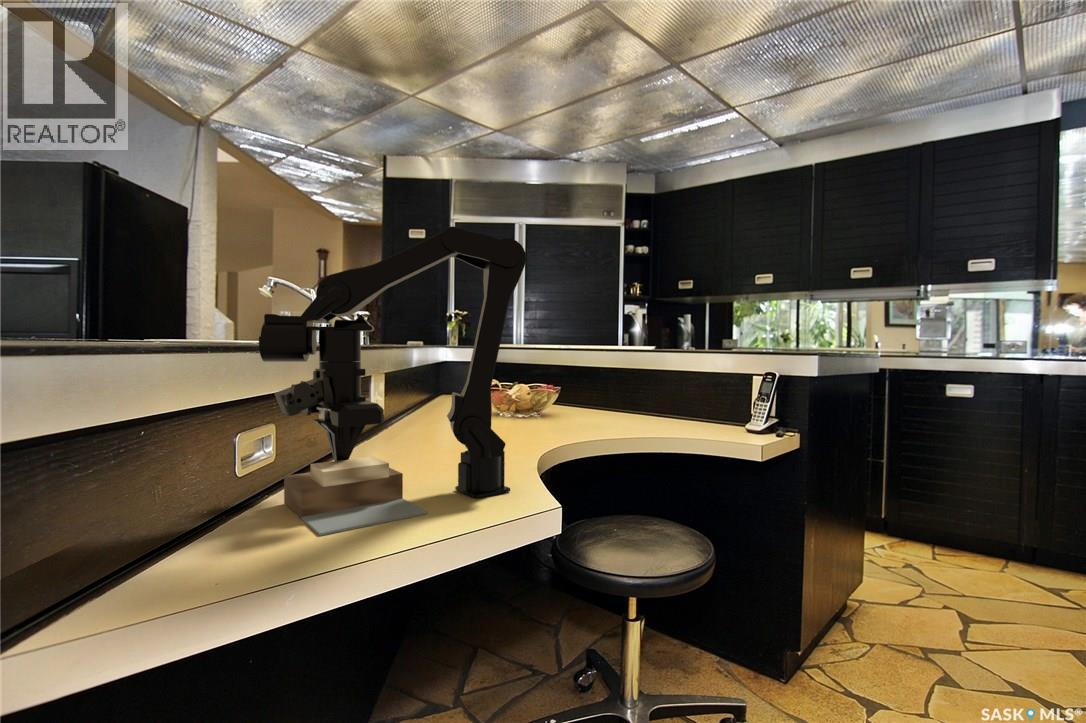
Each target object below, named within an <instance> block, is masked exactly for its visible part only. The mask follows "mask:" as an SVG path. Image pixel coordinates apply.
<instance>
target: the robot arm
mask: <svg viewBox="0 0 1086 723" xmlns="http://www.w3.org/2000/svg"><path fill="white" fill-rule="evenodd" d="M451 258H454V259H457V260H459V261H462V262H463V263H466V264H468V265H470V266H473V267H474V268H476V269H480V270H483V277H482V278H483V279H482V280H483V281H482V282H483V301H482V302H483V303H482V306H481V312H480V316H479V321H478V326H477V331H476V335H475V340H474V344H473V349H472V353H471V354H472V355H471V357H470V358H471V359H470V362H469V363H470V364H469V368H468V372H467V377H466V382H465V384H464V386H463V388H462V391H461V392H460V394H459V393H457V392H454V391H453V392H452V393H451V405H450V406H451V407H450V409H449V411H448V413H447V415H446V417H447V419H448V421H449V424H450V425H449V426H450V429H451V431H452V433H453V435H454V437H455V438H456V440H457V441H458V442H459V443H460V444H462V445H463V446H465V449H467V450H465V451H461V452H460V462H458V463H457V486H455V487H454V488H455V491H458V492H460V493H463V494H465V495H468V496H469V497H472V498H475V499H477V498H484V497H488V496H489V497H490V496H494V495H498V494H503V493H509V492H511V487H508V486H506V485H505V467H506V466H505V463H506V462H505V460H506V459H505V456H506V454H505V453H506V452H505V447H506V442H505V441H504V440H503V439H502V438H501V437H500V436H499V435H498V434H497V433H496V432H495V431H494V430H493V429H492V410H493V408H492V384H493V379H494V374H495V371H496V366H497V365H496V364H497V361H498V355H499V350H500V346H501V341H502V338H503V331H504V327H505V321H506V317H507V312H508V308H509V304H510V303H509V302H510V300H511V298H512V296H513V294H514V291H515V289H516V288H517V285H518V284H519V281H520V279H521V276H522V274H523V271H524V268H525V266H526V263H527V251H526V250H525V248H524V247H523V245H522V244H521V243H520V242H519V241H517V240H515V239H513V238H508V237H507V238H506V237H504V238H501V239H498V238H495V237H493V236H489V235H486V234H482V233H476V232H472V231H468V230H465V229H462V228H460V227H457V226H447V227H446V228H443V230H442V231H440V232H439V233H437V234H435V235H432V236H431V237H428V238H426V239H424V240H422V241H419V242H417V243H416V244H413V245H411V246H409V247H407V248H405V249H403V250H401V251H398V252H396V253H394V254H393V255H389V256H388V257H386V258H383V259H381V260H380V261H377V262H375V263H372V264H369V265H366V266H360V267H356V268H350V269H346V270H342V271H340V272H335V273H332V274H328V275H326V276H324V277H323V278H322V279H321V280H320V281H319V282H318V284H317V287H316V292H315V293H316V297H315V298H314V299H313V300H312V302H310V304H309V305H308V307H307V308H306V309H305V310H304V311H303V312H302V313H301V315H279V314H276V313H275V314H274V313H265V314H264V315H263V316H264V319H263V321H264V322H263V324H262V327H261V331H260V335H259V336H258V348H259V355H260V358H261V360H262V362H265V363H266V362H267V363H268V362H269V363H270V362H271V363H272V362H274V363H275V362H276V363H277V362H279V363H281V362H284V363H286V362H295V363H298V362H299V363H300V362H303V363H304V362H307V361H308V360H309V358H310V356H313V355H314V356H315V355H316V352H317V342H318V343H319V344H318V345H319V346H318V348H319V349H318V352H319V354H318V356H319V357H318V358H319V359H318V360H319V362H318V365H319V368H315V369H314V370H313V372H312V375H313V376H312V378H313V379H309V380H307V381H303V380H301V381H300V382H299V383H296V384H294V383H293V384H291V386H290V387H287V388H285V389H281V390H279V391H277V392H274V396H275V399H276V401H277V403H278V406H279V408H280V409H279V410H281V413H282V415H286V416H287V417H293V416H295V415H298V414H300V413H301V414H302V415H305V416H311V415H312V413H313V414H315V413H316V414H318V418H316V419H315V418H314V419H313V422H314V423H315V424H317V426H319V427H320V428H322V429H323V430H324V431H325V434H326V436H327V439H328V444H329V446H330V450H331V453H332V457H333V461H340V460H349V459H350V457H351V455H352V453H353V451H354V449H355V447H356V444H357V443H358V440H359V438H360V437H361V435H362V433H363V431H364V430H365V428H366V426H368V425H379V424H380V425H381V424H384V423H385V422H384V421H385V419H384V418H385V415H384V412H385V409H384V408H383V407H382V406H380V404H379V403H378V402H372V401H366V396H363V395H362V377H365V376H366V368H362V366H361V365H362V362H361V361H362V360H361V357H362V356H361V354H362V351H361V350H362V348H361V347H362V345H361V344H362V342H361V339H362V338H361V332H374V331H375V327H374V326H373V325H371V324H370V323H369V322H368V320H367V319H366V317H365V316H364V315H363V314H360V315H359V316H358V318H356V319H335V318H337V317H341V318H342V317H343V318H345V317H349V316H353V315H354V314H356V313H357V312H359V311H360V310H361V309H363V308H364V307H365V306H366V305H368V304H369V303H371V302H372V301H373V300H374V299H376V298H377V297H378V296H379V295H380V294H382V293H383V292H385V291H386V290H387V289H389V288H391V287H393V286H396V285H397V284H400V283H402V282H403V281H405V280H408V279H409V278H412V277H414V276H415V275H418V274H419V273H421V272H424V271H426V270H428V269H429V268H432V267H434V266H436V265H438V264H440V263H442V262H444V261H446V260H448V259H451ZM334 319H335V320H334ZM332 320H334V324H333V326H314V324H327V323H328V322H330V321H332ZM317 331H318V334H319V335H318V341H317Z"/></svg>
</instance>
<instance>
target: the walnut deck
mask: <svg viewBox="0 0 1086 723" xmlns="http://www.w3.org/2000/svg"><path fill="white" fill-rule="evenodd" d="M403 476H404V475H403V472H400V471H398V470H396V469H394V468H391V467H389V477H387V478H380V479H373V480H367V481H360V482H353V483H347V484H340V485H334V486H327V487H323V486H321V485H320V484H318V483H317V482H315V481H314V480H312V479H311V471H310V472H305V473H304V472H303V473H302V472H301V473H294V474H287V475H284V476H283V485H284V486H283V497H284V498H283V499H284V500H283V502H284V503H283V504H284V505H285V506H286V507H288V509H290V510H291V512H293V513H294V514H295V515H296V516H297V517H298V518H299V519H301V517H304V516H309V515H315V514H320V513H326V512H331V511H337V510H342V509H348V508H353V507H359V506H364V505H369V504H375V503H380V502H386V501H391V500H397V499H402V498H403V492H404V490H403V488H404V487H403V483H404V482H403ZM403 499H404V498H403Z"/></svg>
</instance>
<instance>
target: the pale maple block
mask: <svg viewBox="0 0 1086 723" xmlns="http://www.w3.org/2000/svg"><path fill="white" fill-rule="evenodd" d="M389 468H390V463H389V462H387V461H385V460H382V459H380V458H378V457H375V456H367V457H359V458H358V457H357V458H349V460H340V461H334V460H333V461H332V460H331V461H326V462H315V463H310V472H311V479H312V480H314V481H315V482H317V483H318V484H320V485H321V486H323V487H327V486H334V485H340V484H347V483H353V482H360V481H367V480H373V479H380V478H387V477H389Z"/></svg>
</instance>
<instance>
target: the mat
mask: <svg viewBox="0 0 1086 723" xmlns="http://www.w3.org/2000/svg"><path fill="white" fill-rule="evenodd" d="M427 514H428V510H426V509H424V508H422V507H420V506H418V505H417V504H414V503H412V502H410V501H408V500H407V499H405V498H402V499H397V500H391V501H386V502H380V503H375V504H369V505H364V506H359V507H353V508H348V509H342V510H337V511H331V512H326V513H320V514H315V515H309V516H304V517H301V518H300V519H301V521H303V522H304V523H305V524H306V525H307V526H308V527H310V528H311V529H312V530H313V531H314V532H315V533H316V534H317V535H318V536H320V537H321V536H327V535H332V534H337V533H342V532H347V531H350V530H356V529H360V528H365V527H370V526H371V527H372V526H374V525H375V526H376V525H379V524H384V523H389V522H394V521H398V520H399V521H400V520H403V519H408V518H412V517H417V516H422V515H427Z"/></svg>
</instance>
